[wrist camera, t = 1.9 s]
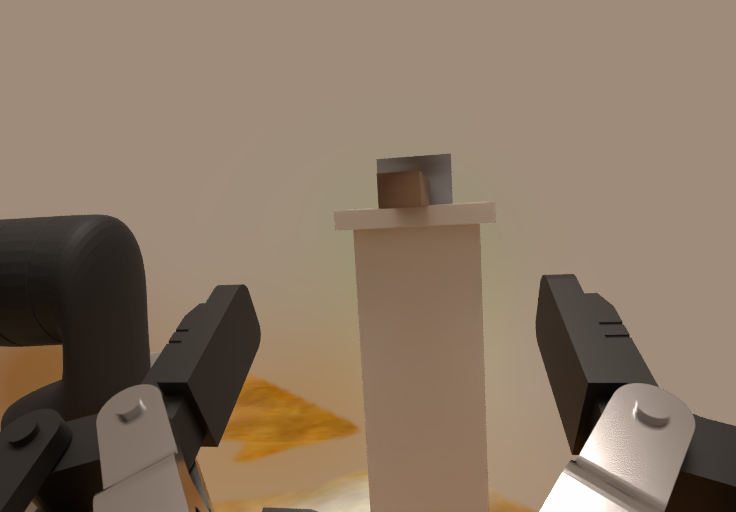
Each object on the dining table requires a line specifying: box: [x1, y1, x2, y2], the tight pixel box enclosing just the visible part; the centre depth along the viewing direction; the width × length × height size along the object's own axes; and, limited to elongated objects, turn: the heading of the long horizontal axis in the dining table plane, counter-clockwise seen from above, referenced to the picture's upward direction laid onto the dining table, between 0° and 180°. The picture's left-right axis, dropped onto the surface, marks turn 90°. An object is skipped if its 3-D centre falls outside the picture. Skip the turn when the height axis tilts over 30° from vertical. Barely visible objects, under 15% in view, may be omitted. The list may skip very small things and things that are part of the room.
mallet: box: [377, 154, 452, 209], centre depth 33 cm, size 6×16×4 cm, turn 170°
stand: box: [334, 202, 496, 512], centre depth 40 cm, size 12×9×32 cm
